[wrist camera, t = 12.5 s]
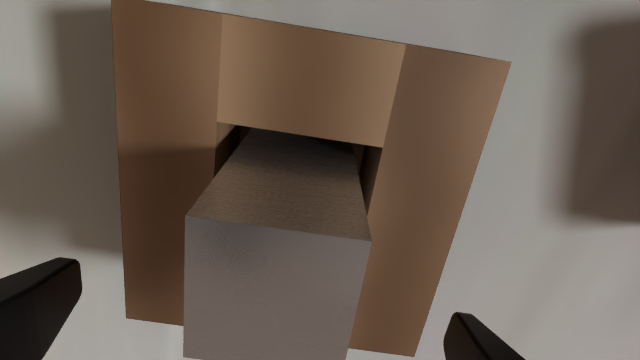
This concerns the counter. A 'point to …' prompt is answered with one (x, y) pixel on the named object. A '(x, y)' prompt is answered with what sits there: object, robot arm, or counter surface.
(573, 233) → the counter surface
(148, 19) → the socket block
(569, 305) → the counter surface
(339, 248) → the steel block
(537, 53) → the counter surface
